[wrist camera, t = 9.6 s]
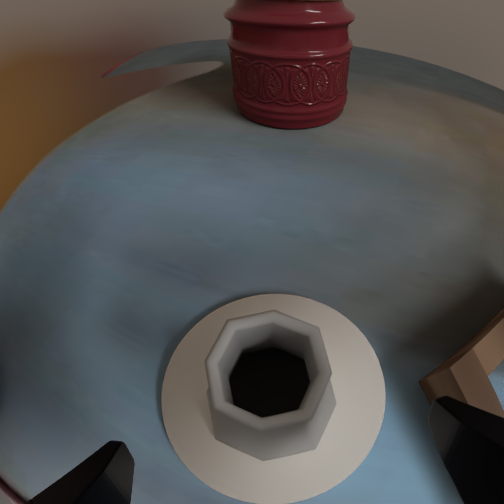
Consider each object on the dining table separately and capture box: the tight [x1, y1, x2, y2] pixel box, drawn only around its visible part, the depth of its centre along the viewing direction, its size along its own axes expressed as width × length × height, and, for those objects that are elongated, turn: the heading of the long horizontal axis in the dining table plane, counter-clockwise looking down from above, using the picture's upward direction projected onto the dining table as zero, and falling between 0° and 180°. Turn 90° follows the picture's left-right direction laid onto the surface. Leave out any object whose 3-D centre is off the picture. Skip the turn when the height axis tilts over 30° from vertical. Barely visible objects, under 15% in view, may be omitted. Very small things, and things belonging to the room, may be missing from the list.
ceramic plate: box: [161, 294, 386, 504], centre depth 16 cm, size 13×13×1 cm
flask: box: [204, 310, 336, 461], centre depth 11 cm, size 7×7×10 cm
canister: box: [223, 0, 355, 129], centre depth 25 cm, size 13×13×18 cm
